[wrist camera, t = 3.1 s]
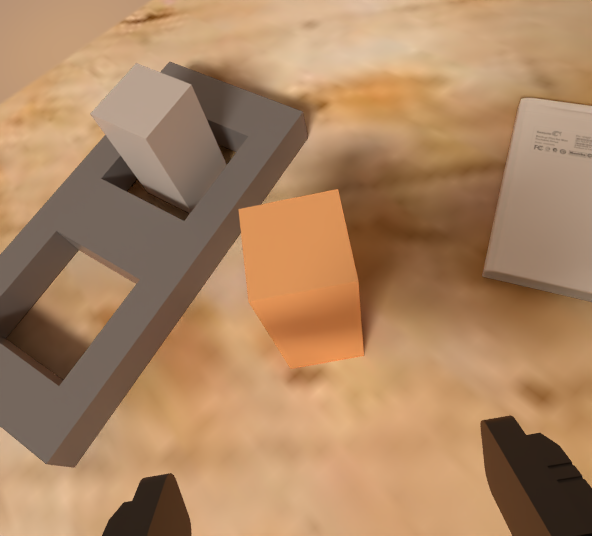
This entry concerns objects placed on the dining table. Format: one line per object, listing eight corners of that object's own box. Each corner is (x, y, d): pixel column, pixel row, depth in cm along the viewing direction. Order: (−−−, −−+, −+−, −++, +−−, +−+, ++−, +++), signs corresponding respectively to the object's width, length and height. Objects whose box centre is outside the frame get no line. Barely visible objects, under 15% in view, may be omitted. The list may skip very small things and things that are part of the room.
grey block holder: (182, 88, 37) (139, -4, 30) (307, 137, 33) (290, 45, 27) (-53, 365, 30) (-177, 325, 23) (74, 467, 26) (-30, 455, 20)
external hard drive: (479, 280, 28) (515, 112, 33) (642, 318, 26) (656, 132, 30) (485, 268, 27) (522, 94, 31) (657, 307, 24) (671, 114, 29)
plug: (363, 355, 27) (358, 280, 18) (290, 368, 27) (248, 301, 18) (349, 288, 28) (338, 188, 19) (281, 301, 29) (238, 209, 20)
